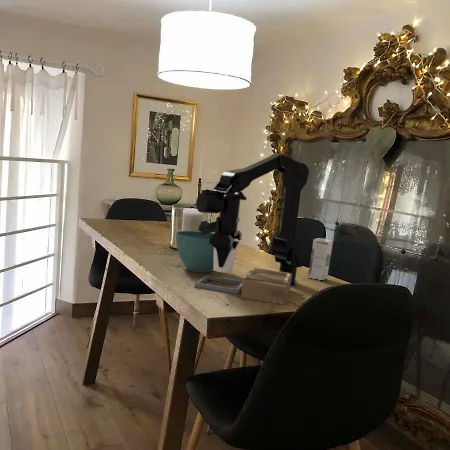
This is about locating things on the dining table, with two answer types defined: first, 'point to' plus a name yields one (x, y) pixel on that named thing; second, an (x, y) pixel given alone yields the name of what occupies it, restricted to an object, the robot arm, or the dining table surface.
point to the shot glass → (228, 264)
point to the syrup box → (320, 259)
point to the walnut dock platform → (266, 285)
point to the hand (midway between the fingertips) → (223, 265)
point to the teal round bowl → (195, 250)
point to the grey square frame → (219, 288)
